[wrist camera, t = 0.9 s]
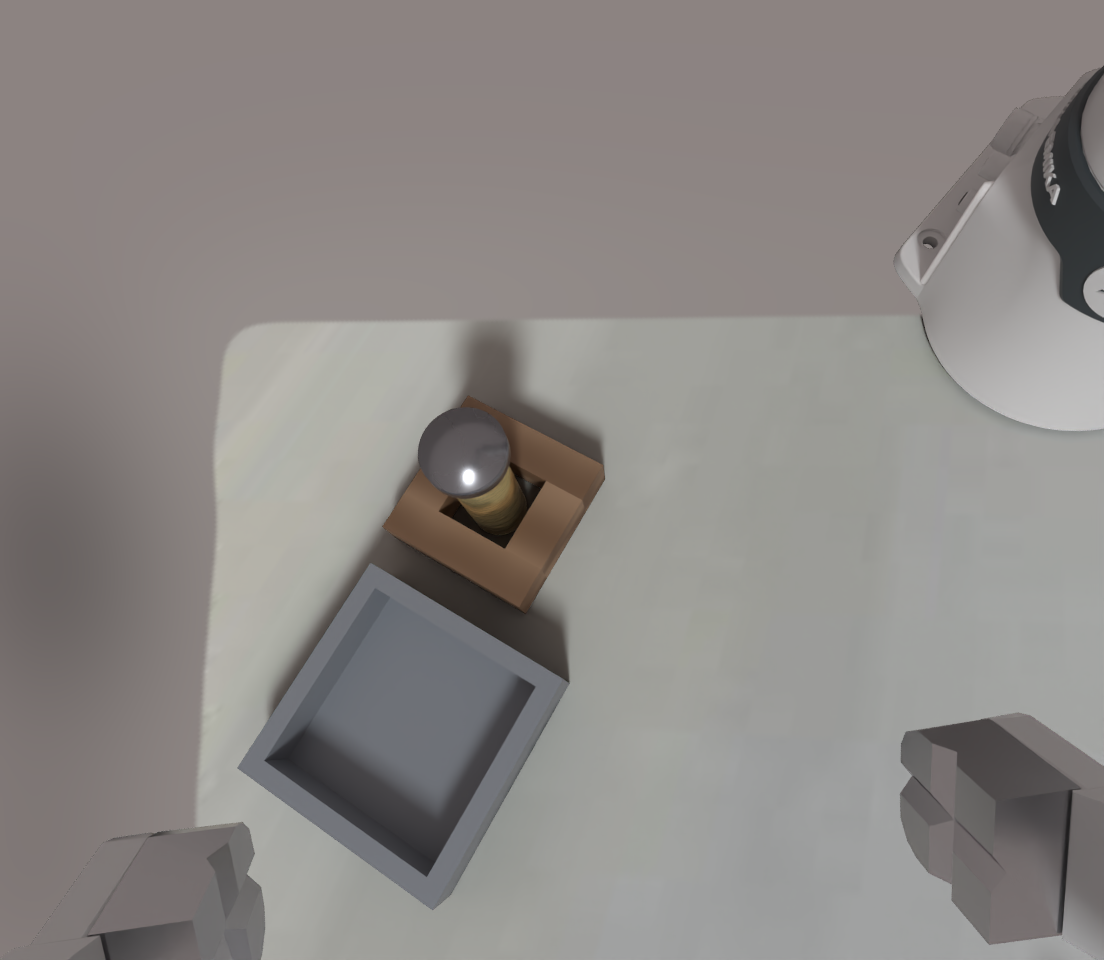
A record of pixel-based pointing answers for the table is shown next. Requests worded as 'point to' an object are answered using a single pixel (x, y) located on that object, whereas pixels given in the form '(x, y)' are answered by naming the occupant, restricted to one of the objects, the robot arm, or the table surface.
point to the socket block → (539, 534)
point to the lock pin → (474, 467)
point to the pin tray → (404, 734)
